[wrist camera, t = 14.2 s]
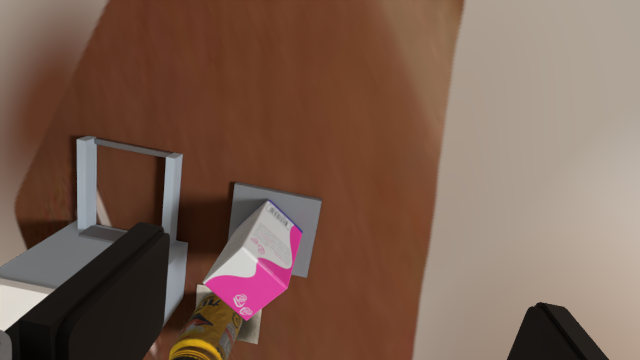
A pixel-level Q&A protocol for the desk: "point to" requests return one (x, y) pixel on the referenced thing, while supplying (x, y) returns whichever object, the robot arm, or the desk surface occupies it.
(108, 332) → the robot arm
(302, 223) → the coaster
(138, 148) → the bar
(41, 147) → the desk surface
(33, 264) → the dispenser
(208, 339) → the condiment
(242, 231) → the supplement box
